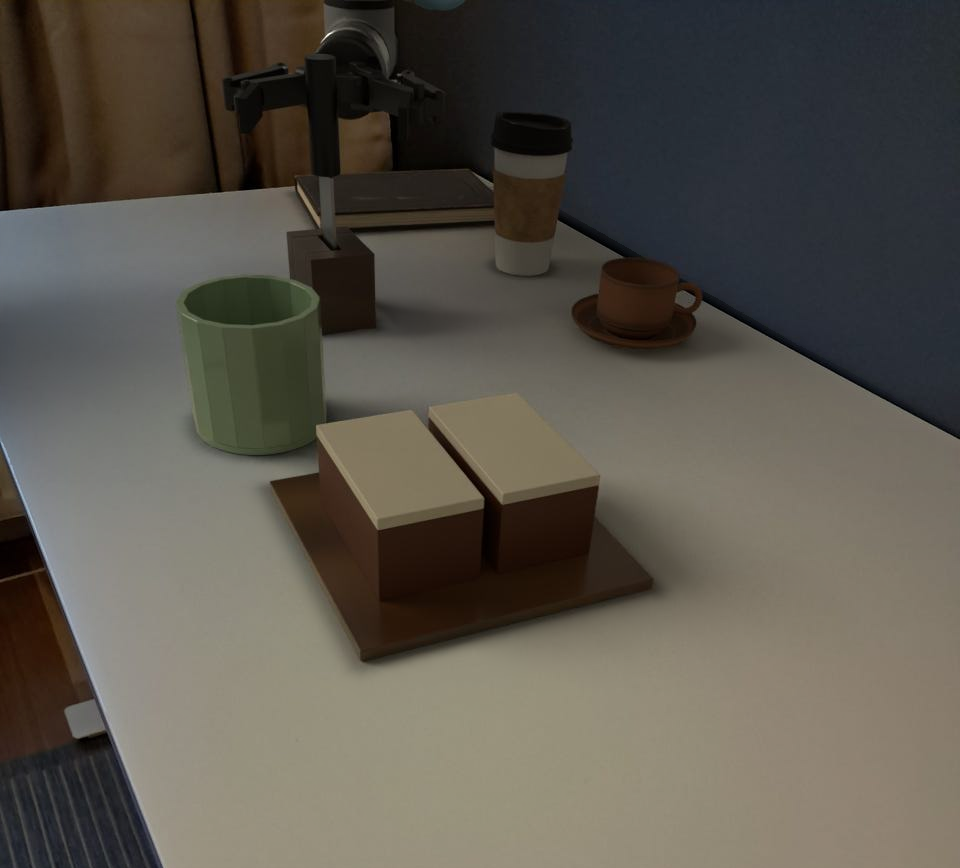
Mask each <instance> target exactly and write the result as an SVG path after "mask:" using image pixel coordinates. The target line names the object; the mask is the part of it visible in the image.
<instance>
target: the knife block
mask: <svg viewBox="0 0 960 868" xmlns="http://www.w3.org/2000/svg"><path fill="white" fill-rule="evenodd" d="M286 244H287V246H286V247H287V260H288V270H289V272H288V273H289V279H292V280H296V281H298V282H300V283H303V284H305V285H307V286H309V287H311V288H313V290H314V291H315V292H316V293H317V295H318V296H319V297H320V306H321V323H322V336H324V335H330V334H331V335H332V334H339V333H345V332H354V331H362V330H369V329H370V330H371V329H376V328H377V312H376V311H377V307H376V306H377V305H376V303H377V302H376V262H375V261H376V259H375V253H374V252H373V250H371V249H370V248H369V247H368V246H367V245H366V244H365V243H364V242H363V241H362V240H361V239H360V238H359V237H358V236H357V235H356V234H355V232H352V231H351V230H350V229H349V228H348V227H347V226H345V227H336V244H337V250H336V251H331V250H330V249H329V248H328V247H327V246H326V245H325V244H324V242H323V239H322V229H316V228H311V229H301V230H291V231H286Z"/></svg>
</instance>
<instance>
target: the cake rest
mask: <svg viewBox="0 0 960 868" xmlns="http://www.w3.org/2000/svg"><path fill="white" fill-rule="evenodd" d="M413 410H414V409H413ZM413 410H412V409H407V410H401V411H395V412H389V413H382V414H377V415H370V416H363V417H358V418H351V419H346V420H338V421H333V422H332V421H331V422H328V423H327V422H326V424H320V425H316V433H317V438H316V446H317V447H316V448H317V462H318V463H317V464H318V465H317V466H318V472H319V480H320V495H321V503H322V505H323V506H324V508H325V510H326V511H327V513H328V515H329V517H330V518H331V520H332V522H333V523H334V525H335V527H336V528H337V530H338V532H339V534H340V535H341V537H342V539H343V540H344V542H345V544H346V545H347V547H348V549H349V551H350V552H351V554H352V556H353V557H354V559H355V561H356V562H357V564H358V566H359V568H360V569H361V571H362V573H363V574H364V576H365V578H366V579H367V581H368V583H369V585H370V586H371V588H372V590H373V591H374V593H375V595H376V597H377V598H378V600H379V601H383V600H387V599H392V598H396V597H400V596H405V595H409V594H413V593H418V592H422V591H426V590H431V589H435V588H439V587H444V586H448V585H452V584H457V583H461V582H465V581H470V580H474V579H478V578H480V566H481V549H482V532H483V516H484V509H483V508H484V497H483V496H482V495H481V493H480V492H479V491H478V490H477V489H476V487H475V486H474V485H473V484H472V482H471V481H470V480H469V479H468V478H467V476H466V475H465V474H464V473H463V471H462V470H461V469H460V468H459V467H458V465H457V464H456V463H455V462H454V460H453V459H452V458H451V457H450V456H449V454H448V453H447V452H446V451H445V449H444V448H443V447H442V446H441V445H440V443H439V442H438V441H437V440H436V438H435V437H434V436H433V435H432V434H431V432H430V431H429V430H428V427H427V426H426V425H425V424H424V422H423V421H422V420H421V419H420V418H419V416H418V415H417V414H416V413H415V412H414V411H413Z"/></svg>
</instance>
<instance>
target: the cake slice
mask: <svg viewBox="0 0 960 868" xmlns="http://www.w3.org/2000/svg"><path fill="white" fill-rule="evenodd" d="M427 429H428V430H429V431H430V432H431V434H432V435H433V436H434V437H435V438H436V440H437V441H438V442H439V443H440V445H441V446H442V447H443V448H444V449H445V451H446V452H447V453H448V454H449V456H450V457H451V458H452V459H453V460H454V462H455V463H456V464H457V465H458V467H459V468H460V469H461V470H462V471H463V473H464V474H465V475H466V476H467V478H468V479H469V480H470V481H471V482H472V484H473V485H474V486H475V487H476V489H477V490H478V491H479V492H480V493H481V495H482V496H483V497H484V508H483V509H484V516H483V532H482V549H481V553H482V555H483V556H484V557H485V559H486V560H487V561H488V563H489V564H490V565H491V567H492V568H493V569H494V570H495V572H496V573H497V574H500V573H504V572H509V571H513V570H517V569H522V568H526V567H530V566H535V565H539V564H543V563H548V562H552V561H556V560H561V559H565V558H569V557H574V556H578V555H582V554H587V553H589V551H590V544H591V537H592V530H593V524H594V517H596V510H597V504H598V503H597V502H598V496H599V489H600V486H599V485H600V481H601V473H599V472H598V471H597V470H596V468H594V467H593V466H592V464H590V463H589V462H588V461H587V460H586V459H585V458H584V457H583V456H582V455H581V454H580V453H579V452H578V451H577V450H576V449H575V448H574V447H573V446H572V445H571V444H570V443H569V442H568V441H567V440H566V439H565V438H564V437H563V436H562V435H561V434H560V433H559V432H558V431H557V430H556V429H555V428H554V427H553V426H552V425H551V424H550V423H549V422H548V421H547V420H545V418H544V417H543V416H541V414H540V413H539V412H537V411H536V409H535V408H533V406H532V405H530V404H529V402H527V400H525V399H524V398H523V396H521V395H520V393H518V392H513V393H506V394H500V395H494V396H487V397H481V398H476V399H470V400H469V399H468V400H462V401H458V402H451V403H450V402H449V403H445V404H439V405H431V406H429V407H428V427H427Z"/></svg>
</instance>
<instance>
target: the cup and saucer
mask: <svg viewBox="0 0 960 868" xmlns="http://www.w3.org/2000/svg"><path fill="white" fill-rule="evenodd" d="M680 278H681V274H680V272H679V270H678V269H677V268H676V267H674V266H672V265H670V264H669V263H665V262H663V261H660V260H655V259H651V258H645V257H631V256H630V257H618V258H617V257H616V258H613V259H610V260H607V261H605V262H604V263H603V264H602V265H601V268H600V276H599V286H598V293H594V294H590V295H587V296H584V297H582V298H580V299H579V300H577V301H576V302H575V303H573V305H572V307H571V319H572V321H573V323H574V324H575V325H576V327H577V328H578V329H579V330H580V331H581V332H582V333H584V335H586V336H589V337H590V338H592V339H593V340H596V341H599V342H600V343H603V344H606V345H609V346H612V347H618V348H623V349H629V350H659V349H664V348H669V347H672V346H676V345H677V344H680V343H682V342H683V341H685V340H686V339H688V338H689V337H691V336H692V334H693V333H694V332H695V329H696V327H697V318H696V317H695V315H694V314H693V313H695V312H696V311H697V310H698V309H699V308H700V307H701V305H702V303H703V292H702V290H701V288H700V287H699V286H698V285H697V284H694V283H692V282H680ZM682 291H690V292H692V293H693V294H694V296H695V298H694V301H693V303H692V305H690V306H688V307H685V306H683V305H681V304H679V303H677V302H676V298H677V293H680V292H682Z"/></svg>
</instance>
